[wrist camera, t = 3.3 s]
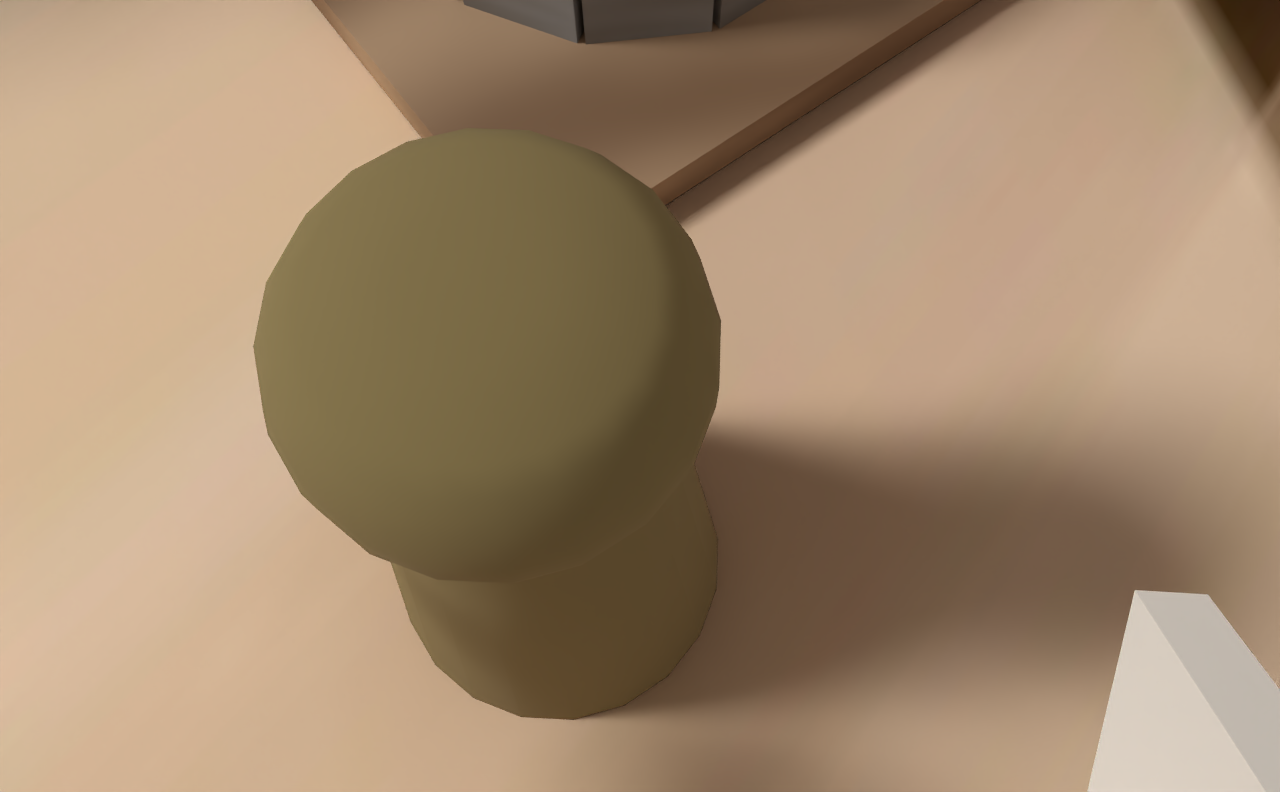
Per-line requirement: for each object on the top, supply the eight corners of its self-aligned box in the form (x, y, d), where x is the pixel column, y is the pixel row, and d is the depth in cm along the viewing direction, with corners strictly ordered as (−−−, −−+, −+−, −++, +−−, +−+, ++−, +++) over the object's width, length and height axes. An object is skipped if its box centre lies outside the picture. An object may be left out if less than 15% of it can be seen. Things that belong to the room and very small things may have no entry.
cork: (697, 394, 23) (729, 13, 12) (740, 701, 20) (820, 541, 10) (397, 425, 22) (181, 67, 12) (406, 737, 20) (147, 614, 10)
